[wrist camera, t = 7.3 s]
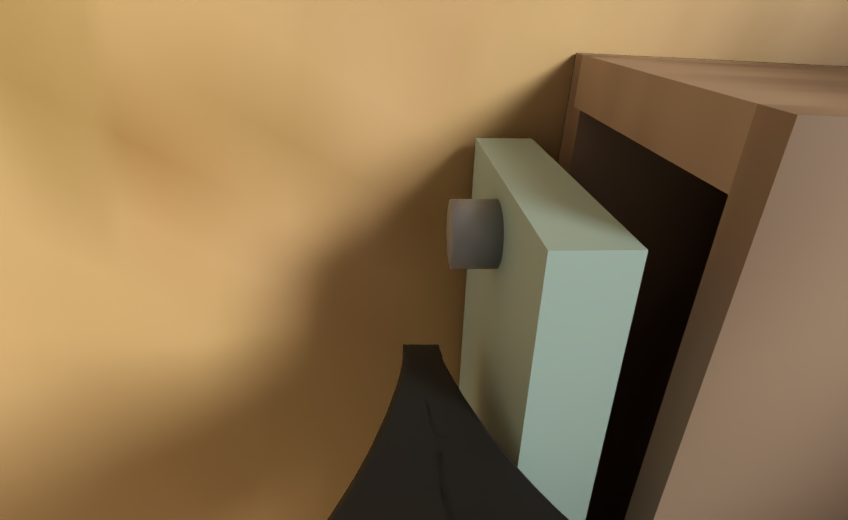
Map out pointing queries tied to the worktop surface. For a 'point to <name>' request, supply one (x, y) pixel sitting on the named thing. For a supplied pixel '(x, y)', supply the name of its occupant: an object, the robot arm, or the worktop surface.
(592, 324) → the cabinet door
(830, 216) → the cabinet
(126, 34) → the worktop surface
